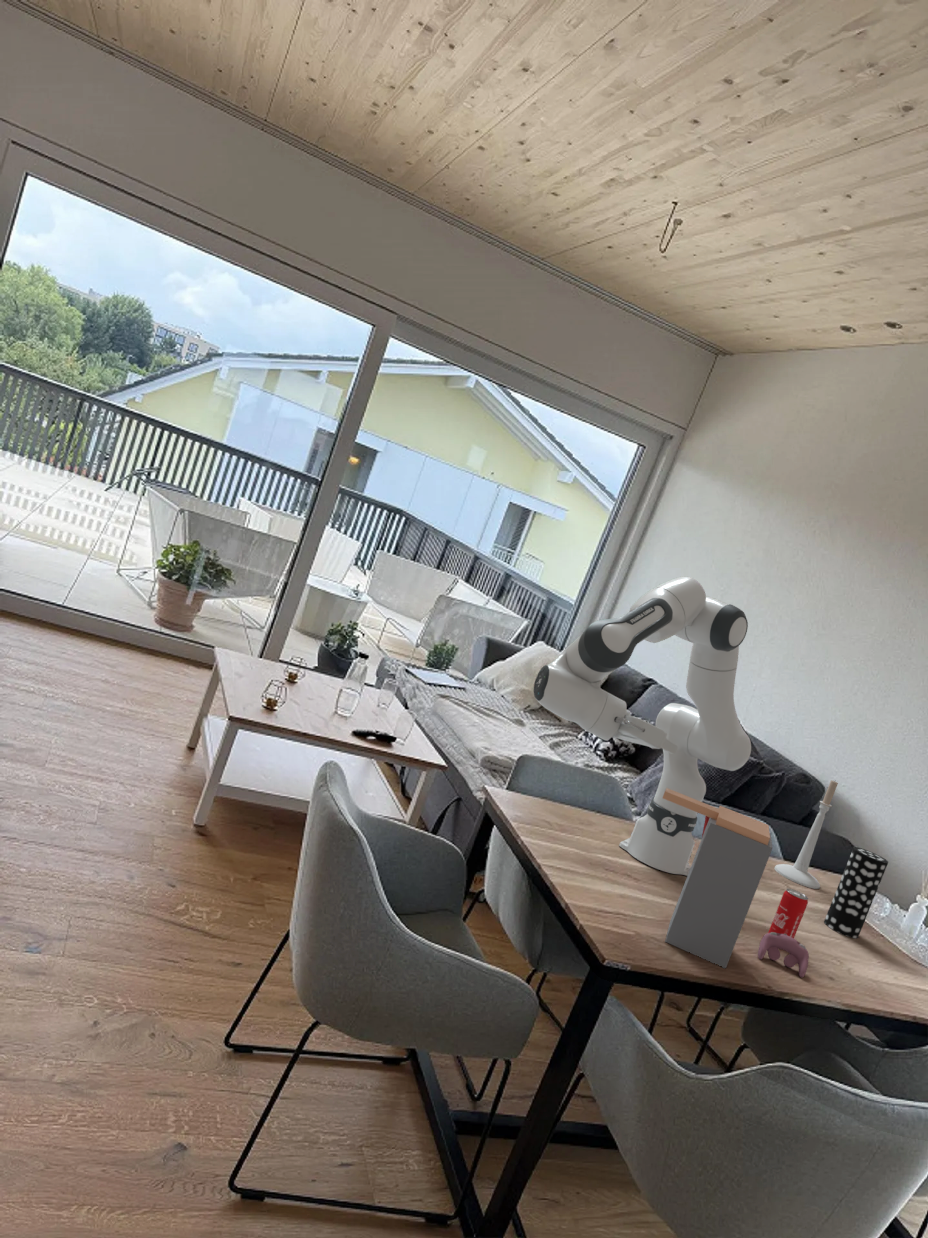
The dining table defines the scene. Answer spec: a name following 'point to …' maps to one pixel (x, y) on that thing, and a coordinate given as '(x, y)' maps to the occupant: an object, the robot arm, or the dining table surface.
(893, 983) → the dining table surface
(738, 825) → the wooden paddle
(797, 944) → the video game controller
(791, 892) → the beverage can
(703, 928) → the tall box
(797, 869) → the candlestick
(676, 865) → the robot arm
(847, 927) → the white-spotted black cylinder
